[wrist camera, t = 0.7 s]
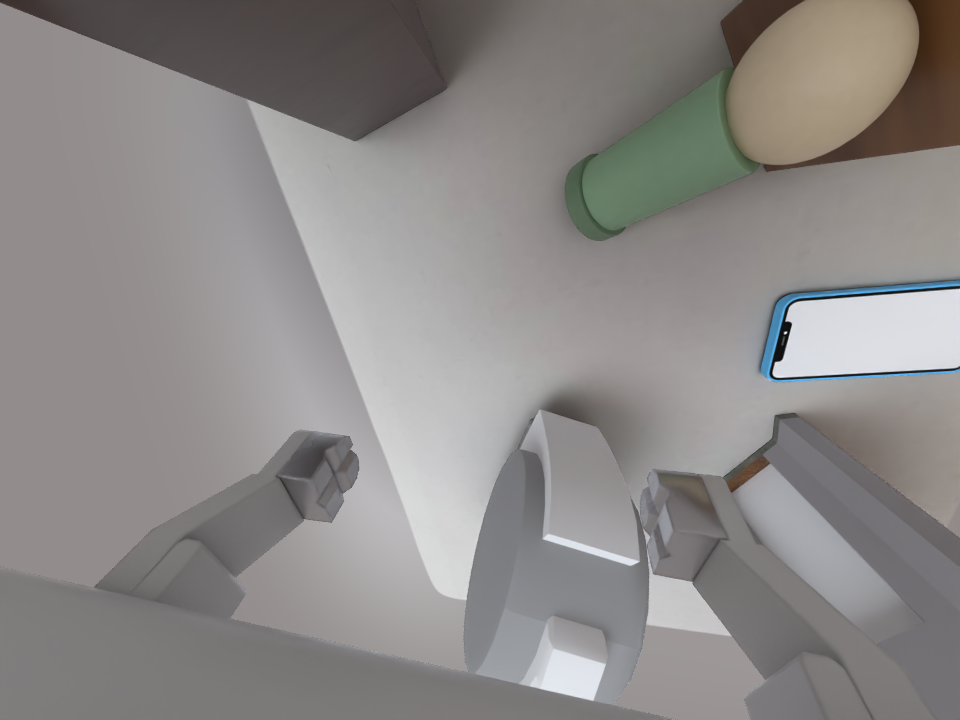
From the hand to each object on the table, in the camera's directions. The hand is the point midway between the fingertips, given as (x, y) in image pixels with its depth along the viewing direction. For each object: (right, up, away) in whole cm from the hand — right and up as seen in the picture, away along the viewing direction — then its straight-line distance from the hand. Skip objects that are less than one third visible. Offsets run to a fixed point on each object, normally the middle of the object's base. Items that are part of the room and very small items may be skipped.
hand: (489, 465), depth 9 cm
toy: (+12, +17, +16) cm, 26 cm away
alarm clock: (+6, -8, +28) cm, 30 cm away
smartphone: (+31, +5, +19) cm, 37 cm away
